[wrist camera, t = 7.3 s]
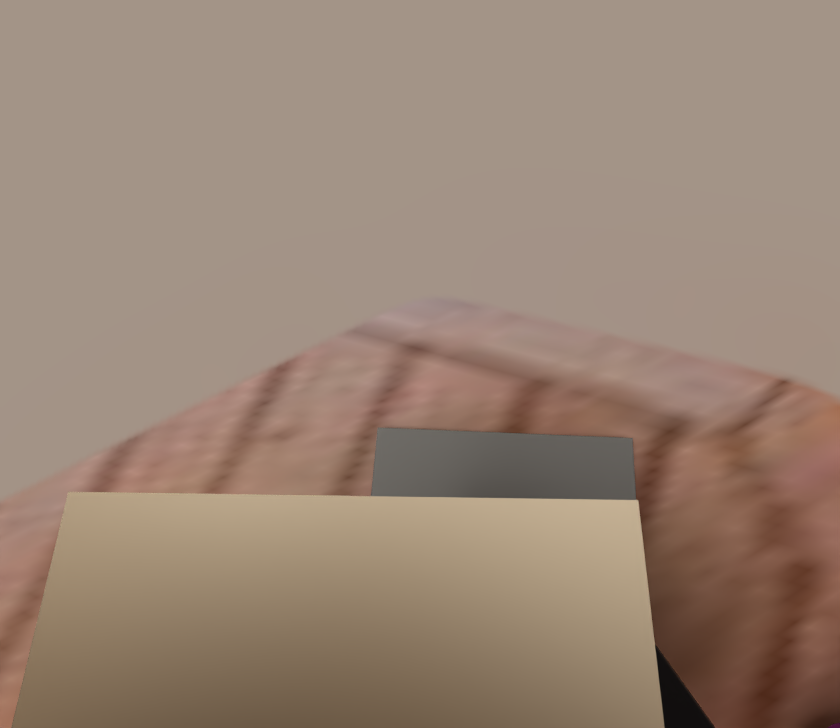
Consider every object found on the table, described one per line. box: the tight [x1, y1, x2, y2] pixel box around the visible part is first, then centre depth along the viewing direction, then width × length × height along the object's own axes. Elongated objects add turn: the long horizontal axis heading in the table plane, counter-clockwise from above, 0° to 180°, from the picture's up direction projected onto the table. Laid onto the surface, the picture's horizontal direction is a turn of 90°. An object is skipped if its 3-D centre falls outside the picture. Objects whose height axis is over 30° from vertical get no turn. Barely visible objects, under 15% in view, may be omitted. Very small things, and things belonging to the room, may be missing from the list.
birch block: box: [11, 492, 665, 728], centre depth 9 cm, size 5×5×13 cm
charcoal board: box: [371, 428, 636, 500], centre depth 21 cm, size 12×12×1 cm
